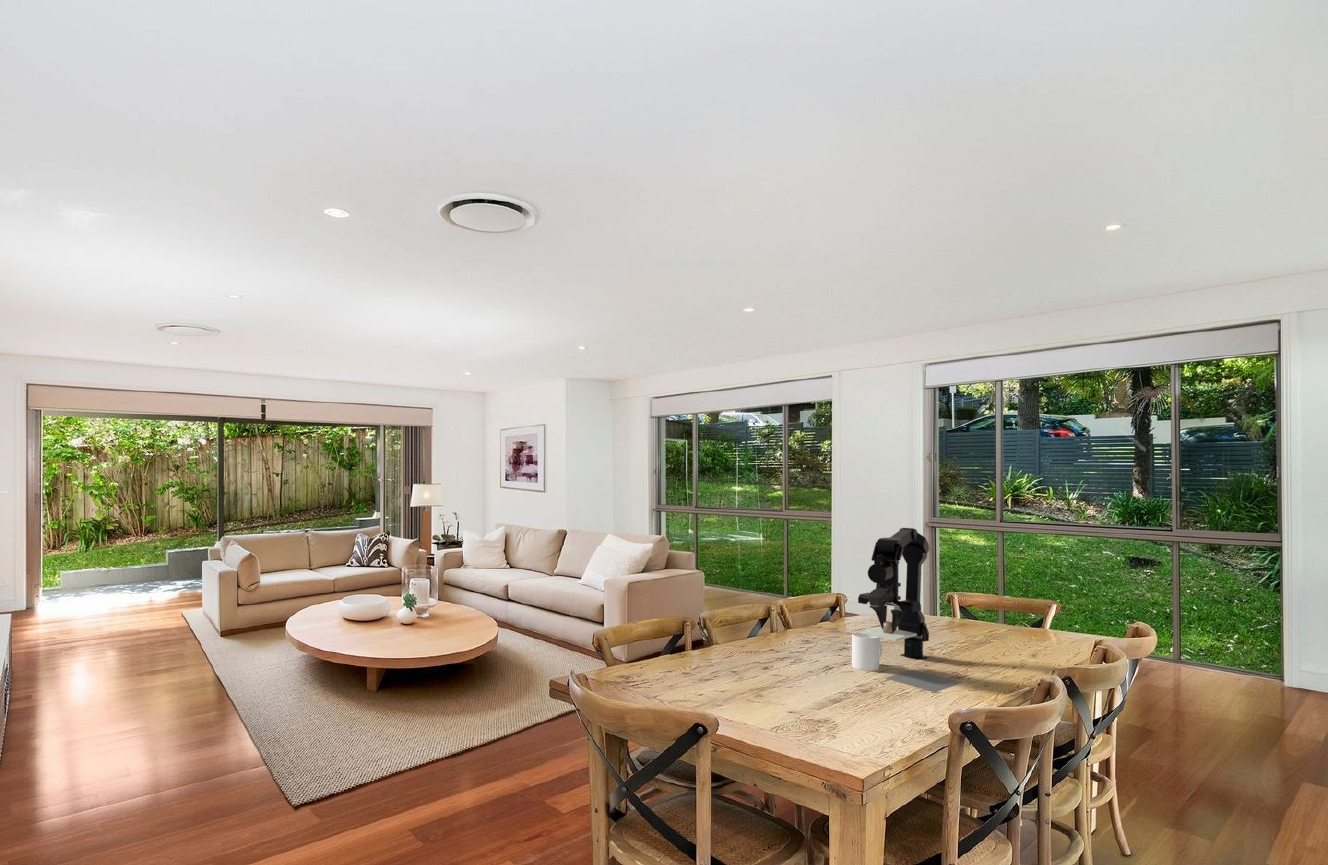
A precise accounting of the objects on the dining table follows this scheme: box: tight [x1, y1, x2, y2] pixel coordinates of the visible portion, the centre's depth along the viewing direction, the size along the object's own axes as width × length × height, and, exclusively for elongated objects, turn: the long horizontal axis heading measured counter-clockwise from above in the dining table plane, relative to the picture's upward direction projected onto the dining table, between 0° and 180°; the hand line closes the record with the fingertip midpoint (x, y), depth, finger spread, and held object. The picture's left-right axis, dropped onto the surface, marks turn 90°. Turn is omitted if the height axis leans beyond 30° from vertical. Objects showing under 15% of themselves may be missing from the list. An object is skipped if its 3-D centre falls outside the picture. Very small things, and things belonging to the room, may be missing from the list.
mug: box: [851, 632, 883, 672], centre depth 216 cm, size 12×8×10 cm
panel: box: [860, 621, 917, 642], centre depth 212 cm, size 12×12×4 cm
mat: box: [885, 669, 964, 693], centre depth 203 cm, size 16×16×1 cm
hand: (888, 630), depth 212 cm, fingers closed on panel, 3 cm apart
